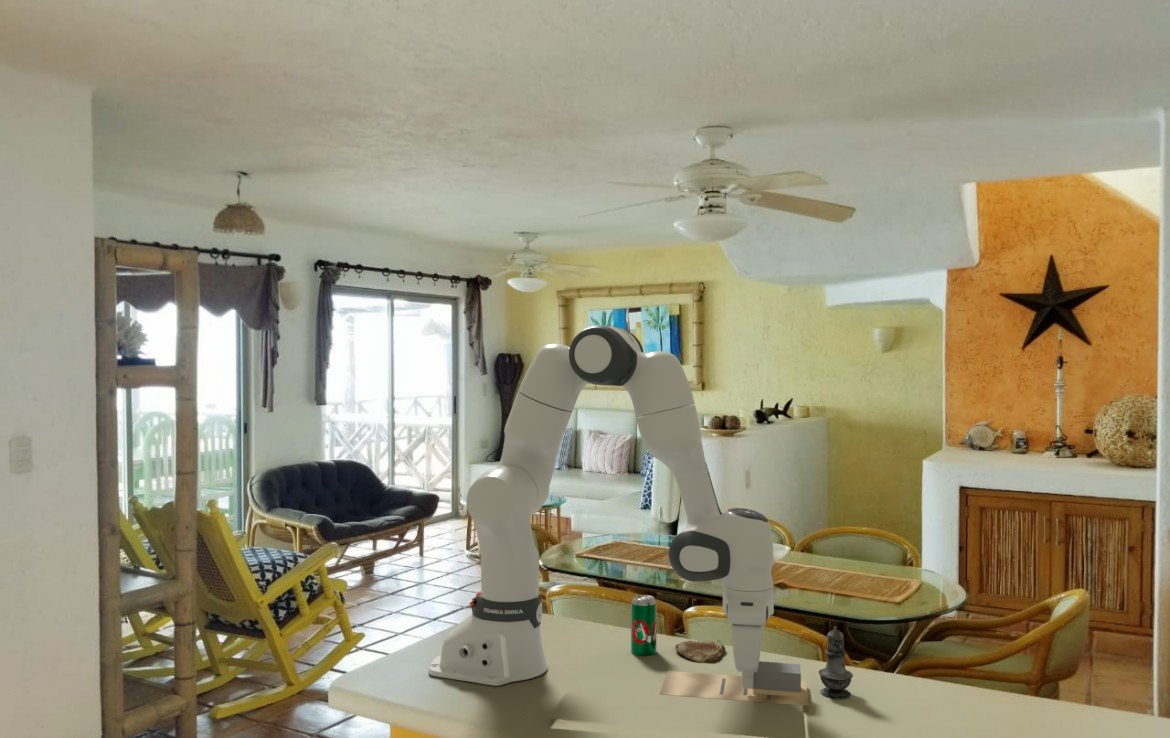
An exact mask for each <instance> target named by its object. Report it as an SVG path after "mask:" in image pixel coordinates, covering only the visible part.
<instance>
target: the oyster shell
mask: <svg viewBox="0 0 1170 738" xmlns="http://www.w3.org/2000/svg"><path fill="white" fill-rule="evenodd" d="M696 641H697V642H696ZM696 641H693V640H687V641H682V642H679V643H677V644H675V646H674V650H675V651H676V652H677V653H678V654H679V655H681V656H682V657H685V658H686V659H689V660H691V661H693V662H697V663H700V664H705V663H717V662H719V661H721V659H722V657H723V656H724V655H726V654H725V653H726V647H725V646H724V645H723V644H722V642H721V640H718V639H716V640H715V641H708V640H703V641H699V640H696Z"/></svg>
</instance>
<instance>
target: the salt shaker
mask: <svg viewBox="0 0 1170 738" xmlns="http://www.w3.org/2000/svg"><path fill="white" fill-rule="evenodd" d="M826 637H827V638H826V639H827V641H826V642H827V649H825V650H824V652H825V653H826V664H825V667H824V668H822V669H819V670H818V675H819V676H820V680H821V683H822V685H824V686H825V687H823V688H822V689H821V690H819V691H820V695H822V696H823V697H825V698H828V699H833V700H846V699H850V698H851V697H852V693H851V692H850V691H849V690H848V689H847V688H848V687H849V686H851V682H852V679H853V677H854V673H853V672H851V671H850V670H848V669H847V668H846V664H845V655H847V652H846V651H845V639H844V638H845V637H844V634H843V632H841V631H840V630H839V629H838V627H837V626H836V625H834V627H833V629H832V630H829V632H828V633H827V636H826Z"/></svg>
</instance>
